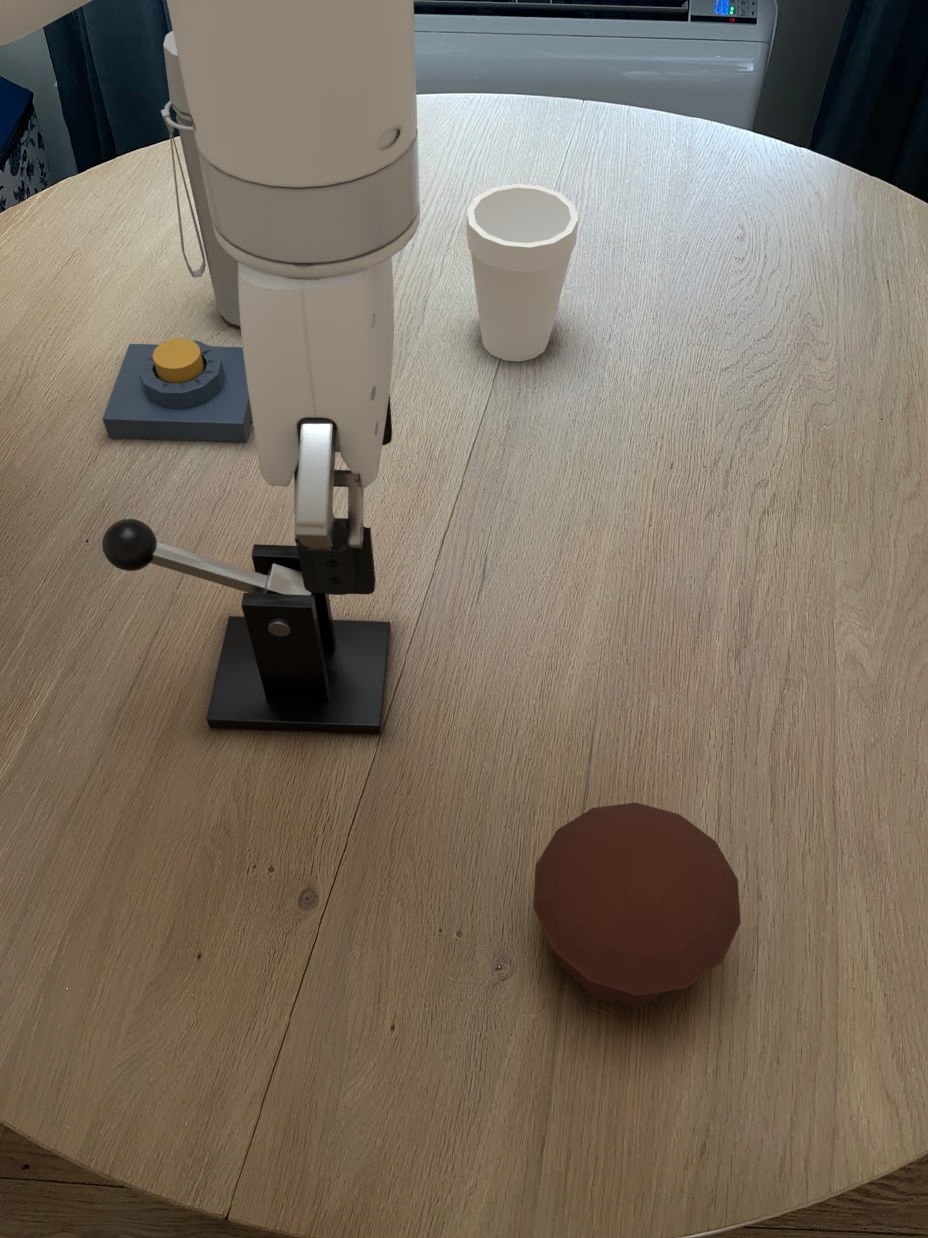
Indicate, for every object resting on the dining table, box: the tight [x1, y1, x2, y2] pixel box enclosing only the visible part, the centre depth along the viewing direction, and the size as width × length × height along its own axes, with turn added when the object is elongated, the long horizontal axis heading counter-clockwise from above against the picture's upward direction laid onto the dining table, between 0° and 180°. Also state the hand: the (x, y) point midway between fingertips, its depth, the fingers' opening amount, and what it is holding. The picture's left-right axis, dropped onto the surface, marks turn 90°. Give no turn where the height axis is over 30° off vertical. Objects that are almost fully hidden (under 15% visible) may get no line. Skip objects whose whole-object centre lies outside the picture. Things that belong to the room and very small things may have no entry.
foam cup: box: [465, 183, 579, 362], centre depth 93 cm, size 10×9×13 cm
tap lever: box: [101, 518, 311, 595], centre depth 65 cm, size 13×3×3 cm, turn 88°
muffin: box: [532, 802, 742, 1009], centre depth 60 cm, size 12×11×10 cm
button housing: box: [102, 340, 253, 443], centre depth 91 cm, size 12×10×4 cm
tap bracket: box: [206, 543, 392, 736], centre depth 70 cm, size 12×9×12 cm
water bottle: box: [160, 30, 241, 328], centre depth 90 cm, size 9×8×25 cm
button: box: [153, 337, 204, 384], centre depth 89 cm, size 4×4×2 cm
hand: (351, 510), depth 50 cm, fingers open, 9 cm apart
